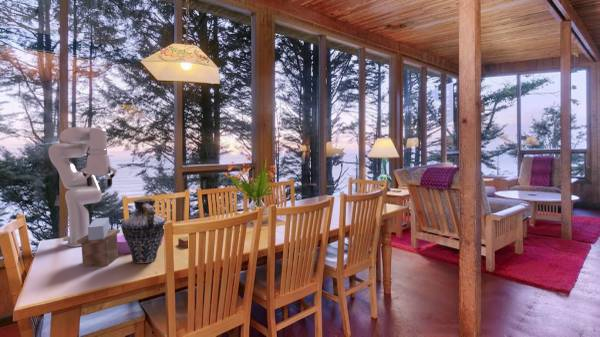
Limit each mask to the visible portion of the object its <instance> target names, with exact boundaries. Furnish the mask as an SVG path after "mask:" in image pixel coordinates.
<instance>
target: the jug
mask: <svg viewBox="0 0 600 337" xmlns="http://www.w3.org/2000/svg"><path fill="white" fill-rule="evenodd" d="M155 201H156V199H155V198H153V199H152V198H149V197H145V198H137V199H134V200H133V204H134V207H135V212H134V213H133V215H131V216H130V217H128V218H126V219H125V220H124V221H123V222H122V224H121V232H122V235H124V238H125V240H126V242H127V244H128V246H129V248H130V251H131V253H130V254H131V259H132V263H133V264H134V263H135V264H148V263H151V262H154V261H155V260H156V259H157V257H158V256H157V255H158V251H159V248H160V246H161V244H162V243H161V240H162V237H163V238H164V235H165V233H164V229H163V225H164V223H165V222H167V221H166V220H165V218H164V217H161V216H159V215H157V214H156V213H155V208H154V205H155ZM160 243H161V244H160Z"/></svg>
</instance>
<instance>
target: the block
mask: <svg viewBox="0 0 600 337" xmlns="http://www.w3.org/2000/svg"><path fill="white" fill-rule="evenodd" d="M109 230H110V217H100V218H94V219H93V220H92V222H91V223H89V227H88V238H89V240H97V239H104V238H105V236H106V234H107V233H108V231H109Z"/></svg>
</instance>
